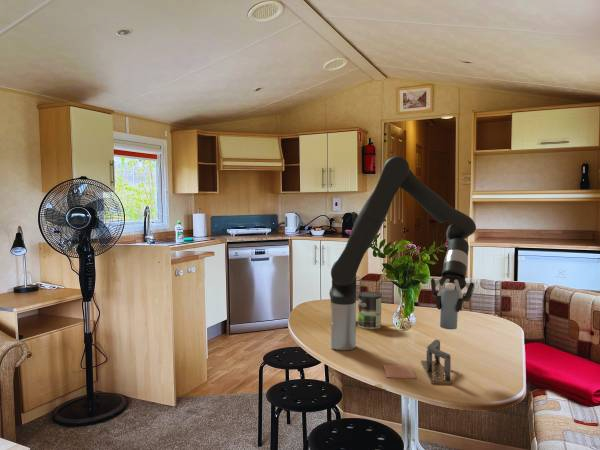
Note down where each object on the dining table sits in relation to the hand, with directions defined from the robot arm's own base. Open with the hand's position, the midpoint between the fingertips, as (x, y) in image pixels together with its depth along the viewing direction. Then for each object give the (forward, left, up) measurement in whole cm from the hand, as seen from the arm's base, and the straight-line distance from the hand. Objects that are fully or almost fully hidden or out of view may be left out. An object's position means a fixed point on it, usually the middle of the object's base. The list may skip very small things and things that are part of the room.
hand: (448, 309), depth 147 cm
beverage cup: (-34, +65, -22) cm, 77 cm away
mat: (-15, +2, -21) cm, 26 cm away
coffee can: (-20, +53, -22) cm, 61 cm away
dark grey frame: (-3, +1, -21) cm, 22 cm away
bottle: (+1, +2, -6) cm, 6 cm away
